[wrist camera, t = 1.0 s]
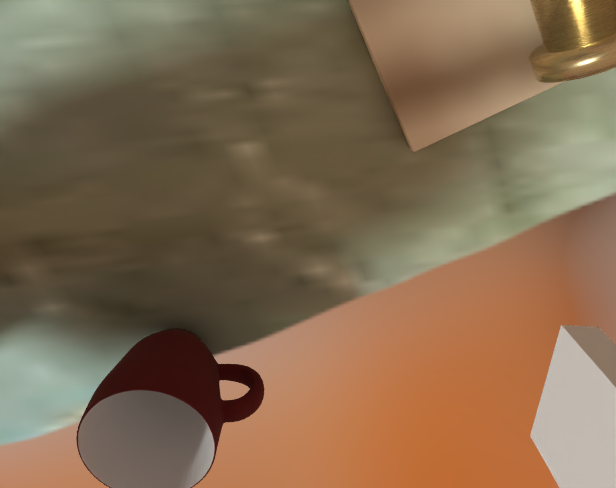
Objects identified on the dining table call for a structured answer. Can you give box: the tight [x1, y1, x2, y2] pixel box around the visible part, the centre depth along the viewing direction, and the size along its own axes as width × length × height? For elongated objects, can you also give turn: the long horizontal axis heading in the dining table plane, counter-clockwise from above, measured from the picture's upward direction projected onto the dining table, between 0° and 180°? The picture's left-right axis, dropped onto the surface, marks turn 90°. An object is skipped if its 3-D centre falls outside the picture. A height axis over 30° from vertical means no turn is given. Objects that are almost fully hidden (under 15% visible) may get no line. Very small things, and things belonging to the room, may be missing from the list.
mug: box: [77, 329, 264, 488], centre depth 38 cm, size 10×8×10 cm
